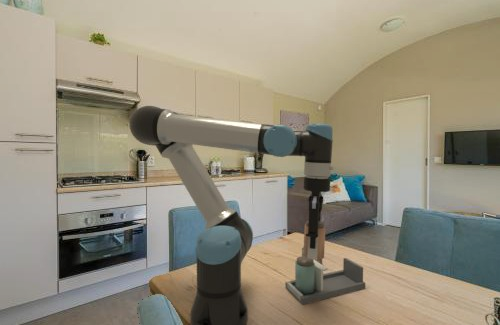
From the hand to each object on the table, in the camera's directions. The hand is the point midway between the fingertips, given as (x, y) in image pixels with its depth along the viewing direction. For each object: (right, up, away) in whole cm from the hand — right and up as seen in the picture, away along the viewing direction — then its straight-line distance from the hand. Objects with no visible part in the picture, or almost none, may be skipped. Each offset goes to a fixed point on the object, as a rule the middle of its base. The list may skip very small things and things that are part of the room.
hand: (313, 254), depth 75 cm
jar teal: (-2, -13, +4) cm, 14 cm away
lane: (+6, -14, +7) cm, 17 cm away
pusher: (+3, -13, +6) cm, 15 cm away
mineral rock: (+6, -13, +26) cm, 30 cm away
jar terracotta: (0, 0, 0) cm, 0 cm away
